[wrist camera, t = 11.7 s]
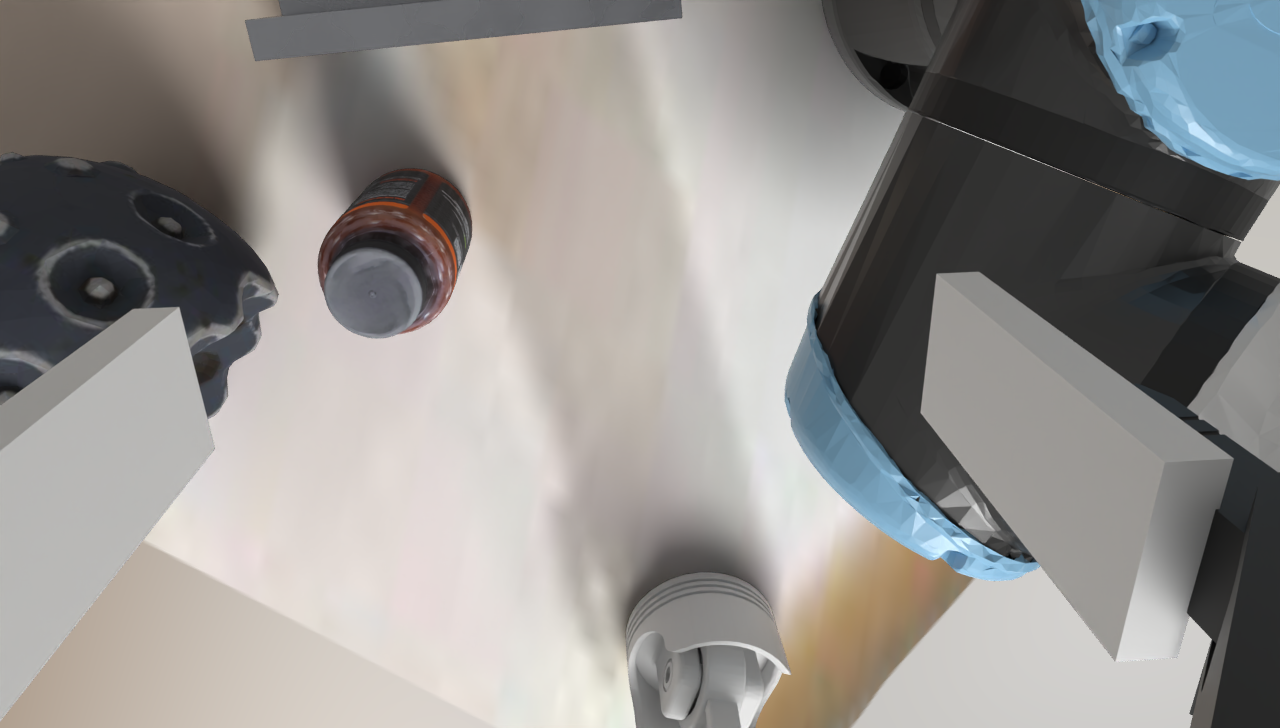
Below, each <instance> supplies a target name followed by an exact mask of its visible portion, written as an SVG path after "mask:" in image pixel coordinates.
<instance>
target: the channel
mask: <svg viewBox="0 0 1280 728" xmlns="http://www.w3.org/2000/svg"><path fill="white" fill-rule="evenodd" d="M279 4H280V9H281V13H282V16H275V17H267V18H259V19H251V20H245V23H246V27H247V31H248V35H249V39H250V42H251V46H252V50H253V54H254V58H255V61H261V60H271V59H281V58H291V57H301V56H311V55H321V54H331V53H340V52H350V51H360V50H370V49H380V48H390V47H400V46H410V45H420V44H430V43H439V42H449V41H459V40H469V39H479V38H489V37H499V36H509V35H519V34H529V33H539V32H548V31H558V30H568V29H578V28H588V27H598V26H608V25H618V24H628V23H638V22H647V21H657V20H667V19H677V18H682V7H681V0H279Z"/></svg>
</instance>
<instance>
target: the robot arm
mask: <svg viewBox="0 0 1280 728" xmlns="http://www.w3.org/2000/svg"><path fill="white" fill-rule="evenodd" d="M822 4H823V10H824V14H825V18H826V22H827V25H828V28H829V31H830V34H831V37H832V39H833V41H834V44H835V46H836V48H837V50H838V52H839V54H840V56H841V57H842V59H843V60H844V62H845V64H846V65H847V66H848V68H849V69H850V70H851V72H852V73H853V74H854V76H855V77H856V78H857V79H858V80H859V81H860V82H861V83H862V84H863V85H864V86H865V87H866V88H867V89H868V90H869V91H871V92H872V93H873V94H874V95H876V96H877V97H879V98H880V99H881V100H883V101H884V102H886V103H888V104H890V105H892V106H893V107H896V108H898V109H900V110H902V111H905V112H906V113H905V115H904V117H903V120H902V122H901V124H900V126H899V128H898V130H897V132H896V135H895V137H894V139H893V141H892V143H891V145H890V147H889V150H888V152H887V154H886V156H885V158H884V160H883V162H882V164H881V166H880V168H879V170H878V173H877V175H876V177H875V179H874V181H873V183H872V185H871V187H870V189H869V191H868V194H867V196H866V198H865V200H864V202H863V204H862V206H861V208H860V210H859V212H858V214H857V217H856V219H855V221H854V223H853V225H852V227H851V229H850V231H849V233H848V235H847V238H846V240H845V242H844V244H843V246H842V248H841V250H840V252H839V254H838V256H837V258H836V261H835V263H834V265H833V267H832V269H831V271H830V273H829V275H828V277H827V279H826V281H825V284H824V286H823V288H822V289H821V290H820V291H819V292H818V293H817V294H816V295H815V296H814V298H813V299H812V301H811V304H810V307H809V310H808V316H807V327H806V330H805V332H804V335H803V337H802V340H801V342H800V345H799V347H798V349H797V352H796V354H795V357H794V359H793V362H792V364H791V367H790V369H789V372H788V375H787V379H786V384H785V403H786V407H787V410H788V414H789V416H790V418H791V427H792V430H793V432H794V435H795V437H796V439H797V440H798V442H799V444H800V446H801V448H802V449H803V451H804V453H805V454H806V456H807V457H808V459H809V460H810V462H811V463H812V464H813V466H814V467H815V468H816V469H817V471H818V472H819V473H820V474H821V476H822V477H823V478H824V479H825V480H826V481H827V483H828V484H829V485H830V486H831V487H832V488H833V489H834V490H835V491H836V492H837V493H838V494H839V495H840V496H841V497H842V498H843V499H844V500H845V501H846V502H848V503H849V504H850V505H851V506H852V507H853V508H854V509H855V510H856V511H858V512H859V513H860V514H861V515H862V516H863V517H865V518H866V519H867V520H868V521H870V522H871V523H872V524H874V525H875V526H876V527H877V528H879V529H880V530H881V531H883V532H884V533H885V534H887V535H888V536H890V537H891V538H893V539H894V540H896V541H897V542H899V543H900V544H902V545H904V546H905V547H907V548H909V549H910V550H912V551H914V552H916V553H917V554H919V555H921V556H923V557H925V558H927V559H929V560H935V559H938V558H939V557H941V558H942V559H944V560H945V561H946V562H947V563H948V564H949V565H950V566H951V567H952V568H953V569H954V570H955V571H956V572H958V573H961V574H964V575H967V576H970V577H974V578H978V579H983V580H991V581H1003V580H1013V579H1016V578H1019V577H1021V576H1023V575H1024V574H1026V573H1027V572H1030V571H1033V570H1036V569H1037V568H1039V567H1040V566H1041V567H1042V568H1043V570H1044V571H1045V572H1046V574H1047V575H1048V576H1049V578H1050V579H1051V580H1052V581H1053V583H1054V584H1055V585H1056V587H1057V588H1058V589H1059V590H1060V591H1061V593H1062V594H1063V595H1064V597H1065V598H1066V599H1067V601H1068V602H1069V603H1070V604H1071V606H1072V607H1073V608H1074V610H1075V611H1076V612H1077V613H1078V615H1079V616H1080V617H1081V618H1082V619H1083V621H1084V622H1085V624H1086V625H1087V626H1088V627H1089V629H1090V630H1091V631H1092V633H1093V634H1094V635H1095V636H1096V638H1097V639H1098V640H1099V641H1100V643H1101V644H1102V645H1103V647H1104V648H1105V649H1106V650H1107V651H1108V653H1109V654H1110V656H1112V658H1113V659H1114V661H1116V662H1121V661H1136V660H1151V659H1152V660H1153V659H1168V658H1177V657H1178V654H1179V650H1180V646H1181V643H1182V640H1183V636H1184V633H1185V629H1186V626H1187V622H1188V619H1189V616H1190V617H1191V618H1192V619H1193V620H1194V621H1195V622H1196V623H1197V624H1198V625H1199V626H1200V627H1201V628H1202V629H1203V630H1204V631H1205V632H1206V633H1207V635H1208V636H1209V637H1210V638H1211V639H1212V641H1211V644H1210V647H1209V651H1208V654H1207V657H1206V661H1205V664H1204V667H1203V671H1202V674H1201V677H1200V681H1199V684H1198V687H1197V690H1196V694H1195V697H1194V700H1193V704H1192V707H1191V710H1190V714H1191V715H1193V718H1192V722H1191V727H1190V728H1280V279H1279V278H1277V277H1274V276H1272V275H1270V274H1267V273H1265V272H1262V271H1260V270H1257V269H1255V268H1252V267H1250V266H1247V265H1245V264H1242V263H1240V262H1239V261H1237V260H1236V258H1235V256H1234V255H1235V253H1236V251H1237V249H1238V247H1239V245H1240V243H1241V242H1239V241H1237V240H1234V239H1232V238H1229V237H1233V238H1235V239H1238V240H1242V241H1243V240H1244V238H1245V237H1246V235H1247V233H1248V232H1249V230H1250V229H1251V227H1252V226H1253V224H1254V223H1255V221H1256V220H1257V218H1258V216H1259V215H1260V213H1261V212H1262V210H1263V209H1264V207H1265V205H1266V204H1267V202H1268V201H1269V199H1270V198H1271V196H1272V195H1273V194H1274V192H1275V191H1276V189H1277V188H1278V186H1279V184H1280V0H822ZM938 122H939V123H938ZM941 123H944V124H947V125H949V126H951V127H954V128H957V129H960V130H962V131H964V132H967V133H969V134H972V135H974V136H977V137H979V138H982V139H985V140H987V141H990V142H992V143H995V144H997V145H1000V146H1002V147H1005V148H1007V149H1010V150H1012V151H1015V152H1017V153H1020V154H1022V155H1025V156H1027V157H1030V158H1032V159H1035V160H1037V161H1040V162H1042V163H1045V164H1047V165H1050V166H1052V167H1055V168H1057V169H1060V170H1062V171H1065V172H1067V173H1065V172H1062V171H1060V170H1057V169H1055V168H1052V167H1050V166H1047V165H1045V164H1042V163H1040V162H1037V161H1035V160H1032V159H1030V158H1027V157H1024V156H1022V155H1019V154H1017V153H1014V152H1012V151H1009V150H1007V149H1004V148H1002V147H999V146H997V145H994V144H992V143H989V142H986V141H984V140H981V139H979V138H976V137H974V136H971V135H969V134H966V133H964V132H961V131H959V130H956V129H953V128H951V127H948V126H946V125H943V124H941ZM1068 173H1070V174H1072V175H1070V174H1068ZM1073 175H1075V176H1077V177H1075V176H1073ZM1078 177H1080V178H1082V179H1080V178H1078ZM1083 179H1085V180H1087V181H1085V180H1083ZM1088 181H1090V182H1092V183H1090V182H1088ZM1093 183H1095V184H1097V185H1095V184H1093ZM1098 185H1100V186H1102V187H1100V186H1098ZM1103 187H1105V188H1107V189H1105V188H1103ZM1108 189H1110V190H1108ZM1111 190H1112V191H1111ZM1113 191H1115V192H1113ZM1116 192H1117V193H1116ZM1118 193H1119V194H1118ZM1121 194H1122V195H1121ZM1123 195H1124V196H1123ZM1126 196H1127V197H1126ZM1128 197H1129V198H1128ZM1131 198H1132V199H1131ZM1133 199H1134V200H1133ZM1136 200H1137V201H1136ZM1138 201H1139V202H1138ZM1156 208H1157V209H1156ZM1161 210H1162V211H1161ZM1166 212H1167V213H1166ZM1171 214H1172V215H1171ZM1176 216H1177V217H1176ZM1181 218H1182V219H1181ZM1224 235H1225V236H1224ZM1227 236H1229V237H1227ZM214 449H215V447H214V443H213V439H212V435H211V431H210V427H209V423H208V419H207V415H206V411H205V407H204V403H203V399H202V395H201V391H200V387H199V383H198V379H197V375H196V372H195V368H194V364H193V360H192V356H191V352H190V348H189V344H188V340H187V336H186V332H185V328H184V324H183V320H182V316H181V312H180V308H179V307H167V308H144V309H132V310H131V311H130V312H128V313H127V314H126V315H124V316H123V317H121V318H120V319H119V320H117V321H116V322H115V323H113V324H112V325H110V326H109V327H108V328H106V329H105V330H104V331H102V332H101V333H99V334H98V335H97V336H95V337H94V338H93V339H91V340H90V341H88V342H87V343H86V344H84V345H83V346H82V347H80V348H79V349H77V350H76V351H75V352H73V353H72V354H71V355H69V356H68V357H66V358H65V359H64V360H62V361H61V362H60V363H58V364H57V365H55V366H54V367H53V368H51V369H50V370H49V371H47V372H46V373H44V374H43V375H42V376H40V377H39V378H38V379H36V380H35V381H33V382H32V383H31V384H29V385H28V386H27V387H25V388H24V389H22V390H21V391H20V392H18V393H17V394H16V395H14V396H13V397H11V398H10V399H9V400H7V401H6V402H5V403H3V404H2V405H0V721H1V720H2V718H3V717H4V716H5V715H6V713H7V712H8V711H9V709H10V708H11V707H12V706H13V704H14V703H15V702H16V701H17V699H18V698H19V697H20V696H21V694H22V693H23V692H24V691H25V689H26V688H27V687H28V685H29V684H30V683H31V682H32V680H33V679H34V678H35V676H36V675H37V674H38V673H39V671H40V670H41V669H42V668H43V666H44V665H45V664H46V662H47V661H48V660H49V659H50V658H51V656H52V655H53V654H54V652H55V651H56V650H57V649H58V647H59V646H60V645H61V644H62V642H63V641H64V640H65V639H66V637H67V636H68V635H69V633H70V632H71V631H72V630H73V628H74V627H75V626H76V625H77V623H78V622H79V621H80V619H81V618H82V617H83V616H84V614H85V613H86V612H87V611H88V609H89V608H90V607H91V606H92V604H93V603H94V602H95V600H96V599H97V598H98V596H99V595H100V594H101V593H102V592H103V590H104V589H105V588H106V586H107V585H108V584H109V583H110V581H111V580H112V579H113V578H114V576H115V575H116V574H117V572H118V571H119V570H120V569H121V567H122V566H123V565H124V564H125V562H126V561H127V559H129V557H130V556H131V555H132V553H133V552H134V551H135V550H136V548H137V547H138V546H139V544H140V543H141V542H142V541H143V540H144V538H145V537H146V536H147V534H148V533H149V532H150V531H151V529H152V528H153V527H154V526H155V524H156V523H157V522H158V521H159V519H160V518H161V517H162V515H163V514H164V513H165V512H166V510H167V509H168V508H169V507H170V505H171V504H172V503H173V501H174V500H175V499H176V498H177V496H178V495H179V494H180V493H181V491H182V490H183V489H184V488H185V486H186V485H187V484H188V482H189V481H190V480H191V479H192V477H193V476H194V475H195V474H196V472H197V471H198V470H199V468H200V467H201V466H202V465H203V463H204V462H205V461H206V460H207V458H208V457H209V456H210V455H211V453H212V452H213V451H214Z"/></svg>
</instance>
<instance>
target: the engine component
mask: <svg viewBox="0 0 1280 728" xmlns="http://www.w3.org/2000/svg"><path fill="white" fill-rule="evenodd" d="M626 647H627V650H626V651H627V662H628V675H629V684H630V690H631V695H632V701H633V706H634V712H635V722H636V728H755V726H756V722H757V719H758V717H759V714H760V712H761V710H762V708H763V706H764V704H765V702H766V701H767V699H768V697H769V696H770V694H771V693H772V691H773V689H774V688H775V686H776V685H777V683H778V681H779V679H780V677H781V674H782V673H785V674H790V675H791V671H790V668H789V665H788V661H787V658H786V655H785V651H784V648H783V645H782V642H781V638H780V635H779V632H778V629H777V626H776V622H775V620H774V616H773V613H772V610H771V608H770V605H769V604H768V602H767V600H766V599H765V597H764V596H763V595H762V594H761V593H760V592H759V591H758V590H757V589H755V588H754V587H753V586H752V585H750V584H749V583H747V582H745V581H743V580H741V579H739V578H737V577H733V576H730V575H726V574H722V573H713V572H698V573H692V574H686V575H682V576H679V577H676V578H672V579H670V580H668V581H666V582H663V583H662V584H660V585H659V586H657V587H655V588H654V589H652V590H651V591H650V592H649V593H647V594H646V595H645V596H644V597H643V598H642V599H641V600H640V601H639V603H638V604H637V605H636V607H635V608H634V610H633V612H632V613H631V615H630V617H629V621H628V624H627V628H626Z"/></svg>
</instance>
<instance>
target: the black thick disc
mask: <svg viewBox="0 0 1280 728" xmlns="http://www.w3.org/2000/svg"><path fill="white" fill-rule="evenodd" d="M278 295H279V294H278V292H277V289H276V287H275V285H274V282H273V280H272V278H271V275H270V273H269V271H268V269H267V267H266V266H265V265H264V263H263V262H262V261H261V259H260V258H259V257H258V255H257V254H256V253H255V252H254V250H253V249H252V248H251V247H250V246H249V245H248V244H247V243H246V242H245V241H244V240H243V239H242V238H241V237H240V236H239V235H238V234H237V233H236V232H235V231H234V230H232V229H231V228H230V227H228V226H227V225H226V224H225V223H223V222H222V221H221V220H219V219H218V218H217V217H216V216H214V215H213V214H211V213H210V212H208V211H207V210H206V209H204V208H203V207H201V206H200V205H198V204H197V203H195V202H194V201H192V200H191V199H189V198H188V197H186V196H185V195H183V194H181V193H180V192H178V191H176V190H174V189H172V188H170V187H168V186H165V185H163V184H161V183H159V182H156V181H154V180H152V179H150V178H148V177H145V176H142V175H139V174H138V173H137V172H136V171H135V170H134V169H133V168H131V167H129V166H127V165H125V164H123V163H120V162H116V161H106V162H101V163H98V162H93V161H88V160H83V159H78V158H73V157H59V156H43V155H32V156H25V157H24V156H21V155H19V154H16V153H13V152H11V153H6V154H3V155H2V156H1V157H0V405H2V404H3V403H5V402H6V401H7V400H9V399H10V398H11V397H13V396H14V395H16V394H17V393H18V392H20V391H21V390H22V389H24V388H25V387H27V386H28V385H29V384H31V383H32V382H33V381H35V380H36V379H38V378H39V377H40V376H42V375H43V374H44V373H46V372H47V371H49V370H50V369H51V368H53V367H54V366H55V365H57V364H58V363H60V362H61V361H62V360H64V359H65V358H66V357H68V356H69V355H71V354H72V353H73V352H75V351H76V350H77V349H79V348H80V347H82V346H83V345H84V344H86V343H87V342H88V341H90V340H91V339H93V338H94V337H95V336H97V335H98V334H99V333H101V332H102V331H104V330H105V329H106V328H108V327H109V326H110V325H112V324H113V323H115V322H116V321H117V320H119V319H120V318H121V317H123V316H124V315H126V314H127V313H128V312H130V311H131V310H132V309H144V308H167V307H179V308H180V312H181V316H182V320H183V324H184V328H185V332H186V336H187V340H188V344H189V348H190V352H191V356H192V360H193V364H194V368H195V372H196V375H197V379H198V383H199V387H200V391H201V395H202V399H203V403H204V407H205V411H206V415H207V419H209V418H211V417H213V416H215V415H216V414H217V413H218V412H219V410H220V409H221V407H222V405H223V404H224V402H225V400H226V399H227V397H228V386H227V375H228V370H229V367H230V366H231V365H232V363H233V362H234V361H236V360H237V359H239V358H241V357H243V356H245V355H246V354H248V353H250V352H252V351H253V350H255V348H256V346H257V344H258V342H259V340H260V338H261V328H260V321H259V312H260V311H263V310H265V309H267V308H270V307H272V306H274V305H275V303H276V302H277V299H278Z"/></svg>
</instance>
